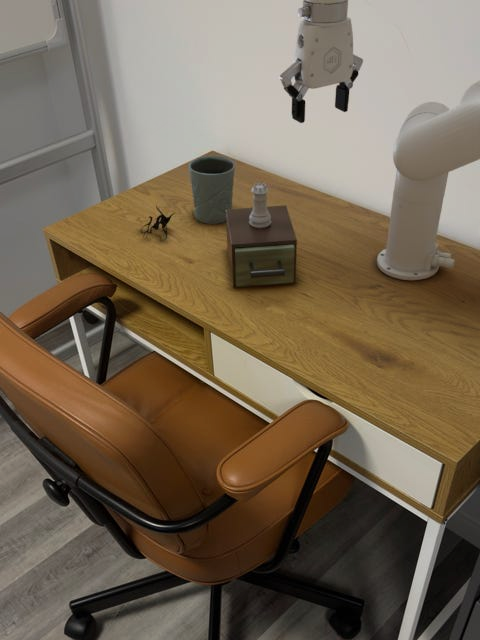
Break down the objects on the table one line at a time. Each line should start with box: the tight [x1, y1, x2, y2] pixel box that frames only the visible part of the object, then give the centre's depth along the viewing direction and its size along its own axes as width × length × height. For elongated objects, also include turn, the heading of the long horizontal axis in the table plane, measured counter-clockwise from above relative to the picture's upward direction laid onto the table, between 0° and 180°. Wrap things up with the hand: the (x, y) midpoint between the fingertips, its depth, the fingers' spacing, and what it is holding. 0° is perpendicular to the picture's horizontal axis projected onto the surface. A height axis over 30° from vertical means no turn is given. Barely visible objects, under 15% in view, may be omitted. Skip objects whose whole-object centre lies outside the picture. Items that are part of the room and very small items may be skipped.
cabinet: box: [225, 204, 298, 288], centre depth 143 cm, size 15×13×10 cm
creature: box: [140, 204, 176, 242], centre depth 156 cm, size 8×5×8 cm
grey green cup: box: [188, 155, 236, 225], centre depth 160 cm, size 10×10×12 cm
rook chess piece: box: [249, 182, 271, 229], centre depth 137 cm, size 4×4×8 cm
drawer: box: [235, 244, 295, 288], centre depth 140 cm, size 18×11×8 cm, turn 5°
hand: (320, 115), depth 131 cm, fingers open, 9 cm apart
